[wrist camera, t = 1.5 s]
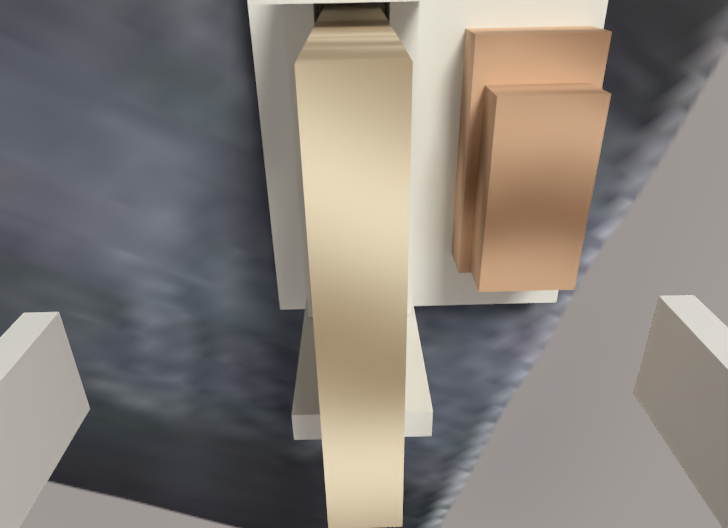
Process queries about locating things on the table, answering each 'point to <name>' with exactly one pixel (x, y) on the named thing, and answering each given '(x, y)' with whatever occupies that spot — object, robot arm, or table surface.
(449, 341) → the table surface
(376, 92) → the birch board
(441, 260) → the board rack
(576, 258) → the offcut upper
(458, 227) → the offcut lower
